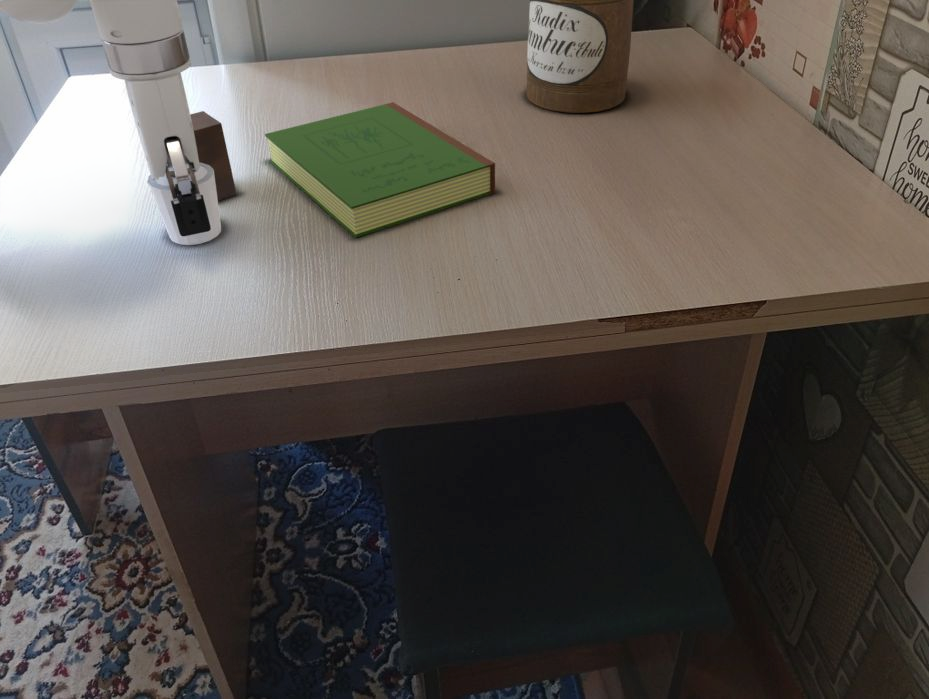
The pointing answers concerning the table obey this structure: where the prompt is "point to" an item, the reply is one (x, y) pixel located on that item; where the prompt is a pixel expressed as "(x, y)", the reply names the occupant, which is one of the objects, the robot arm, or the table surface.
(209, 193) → the white cup
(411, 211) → the hardcover book
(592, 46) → the wooden container
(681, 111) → the table surface
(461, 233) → the table surface
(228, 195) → the walnut block
